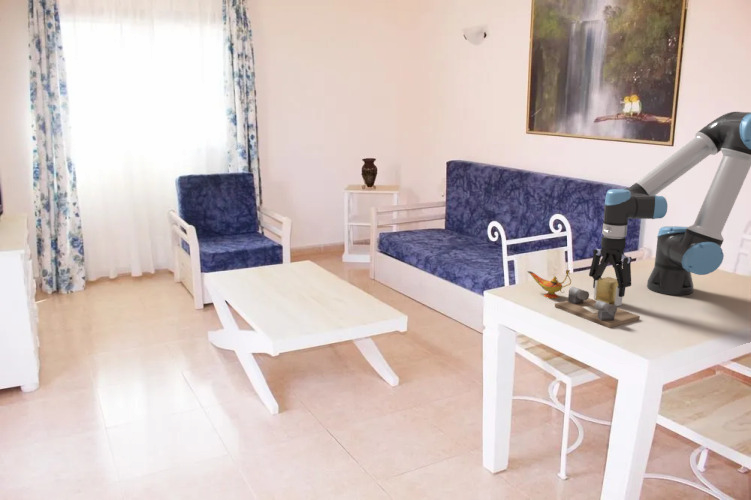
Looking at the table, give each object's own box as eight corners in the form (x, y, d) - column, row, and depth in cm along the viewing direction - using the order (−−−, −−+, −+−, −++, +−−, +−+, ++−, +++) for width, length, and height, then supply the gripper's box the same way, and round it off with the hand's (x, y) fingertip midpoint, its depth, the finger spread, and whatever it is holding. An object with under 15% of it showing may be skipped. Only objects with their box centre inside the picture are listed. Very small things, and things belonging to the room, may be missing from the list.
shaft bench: (639, 319, 194) (641, 301, 192) (609, 327, 187) (610, 309, 185) (584, 300, 212) (585, 283, 210) (554, 306, 205) (556, 289, 204)
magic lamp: (532, 287, 226) (534, 258, 223) (575, 299, 213) (577, 268, 210) (520, 290, 222) (522, 261, 219) (563, 303, 208) (566, 272, 206)
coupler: (618, 303, 209) (620, 280, 207) (608, 305, 207) (610, 282, 205) (606, 299, 213) (608, 276, 211) (596, 301, 211) (598, 278, 209)
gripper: (581, 231, 211) (575, 294, 217) (633, 244, 194) (625, 312, 199) (596, 229, 215) (590, 291, 220) (648, 241, 197) (641, 308, 203)
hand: (607, 301), depth 210 cm, fingers open, 8 cm apart
